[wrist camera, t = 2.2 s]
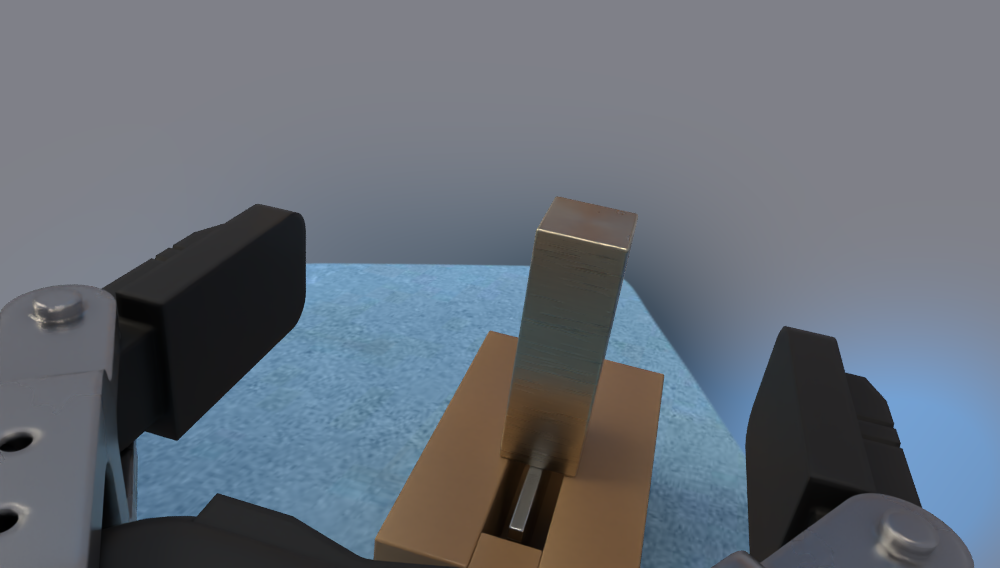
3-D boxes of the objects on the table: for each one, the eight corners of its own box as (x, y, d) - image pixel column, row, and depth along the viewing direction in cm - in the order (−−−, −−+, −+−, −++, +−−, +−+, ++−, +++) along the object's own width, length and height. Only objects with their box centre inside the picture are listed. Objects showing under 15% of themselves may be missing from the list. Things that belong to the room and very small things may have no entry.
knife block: (366, 661, 26) (373, 538, 23) (475, 431, 37) (489, 329, 34) (594, 740, 24) (633, 619, 21) (635, 476, 35) (664, 374, 33)
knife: (458, 618, 26) (511, 271, 20) (518, 456, 34) (571, 167, 27) (535, 643, 26) (615, 296, 19) (578, 473, 34) (646, 183, 27)
